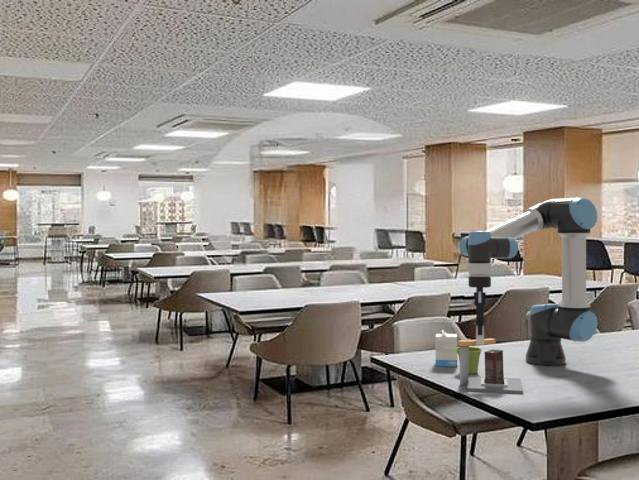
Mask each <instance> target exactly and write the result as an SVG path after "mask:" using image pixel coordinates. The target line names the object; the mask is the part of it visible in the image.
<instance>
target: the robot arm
mask: <svg viewBox="0 0 639 480" xmlns="http://www.w3.org/2000/svg"><path fill="white" fill-rule="evenodd" d="M597 222H598V211H597V208H596V206H595V204H594V203H593V201H591V200H590V199H588V198H586V197H566V198H564V197H563V198H551V199H547V200H544V201H542V202H539V203H538V204H535V205H533V206H531V207H528V208H527V209H526V210H524V212H523V213H522V214H520V215H517V216H516V217H513V218H511V219H509V220H506V221H505V222H502V223H500V224H499V225H495V226H493V227H492V228H490V229H487V230H471V231H470V232H469V233H468V236H463V237H462V238H461V240H460V241H459V246H458V247H459V248H458V249H459V251H460V253H461V254H462V255H463V256H465V257H468V258H467V259H468V260H467V261H468V265H467V266H466V269H467V270H468V275H469V276H468V277H467V278H468V287H469V288H476V289H475V290H476V291H475V292H473V298H474V306H475V307H476V309H475V310H476V311H475V313H476V314H475V315H476V316H475V317H476V318H475V323H473V324H474V325H473V326H475V340H476V345H475V346H482V345H483V346H484V345H485V344H484V339H485V326H486V325H487V324H486V322H485V320H484V319H485V317H484V315H485V313H484V311H485V310H484V308H485V305H486V297H487V296H486V294H487V293H486V292H484V288H490V287H491V288H492V277H491V276H490V275H491V274H492V263H491V262H492V259H511V258H512V259H513V258H514V257H515V256H516V255H517V254H518V252H519V249H518V248H519V244H518V242H517V240H518V238H520V237H523V236H526V235H527V234H529V233H532V232H539V231H541V230H546V229H547V230H548V229H556V230H557V234H558V235H559V237H561V301H560V302H559V303H547V304H543V303H541V304H533V305H532V306H531V307H530V309H529V310H530V312H529V313H530V314H529V336H530V337H529V339H530V340H529V345H528V347H527V351H526V353H525V362H526V363H529V364H532V365H533V364H534V365H539V366H561V365H565V364H566V359H567V358H566V354H565V352H564V348H563V345H562V340H567V341H572V342H575V343H576V342H580V343H581V342H582V343H584V342H588V341H590V339H591V340H592V338H593V336H594V335H595V333H596V331H597V329H598V318H597V316H596V314H595V313H593V312H592V311H591V305H590V303H589V302H587V237H588V236H589V235H591V229H593V228H594V227H595V226H596V223H597ZM516 239H517V240H516Z"/></svg>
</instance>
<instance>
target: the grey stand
mask: <svg viewBox="0 0 639 480" xmlns="http://www.w3.org/2000/svg"><path fill="white" fill-rule="evenodd" d="M459 347H460V362H459V385H460V386H466V392H479V393H480V392H481V393H482V392H483V393H497V394H498V393H500V394H501V393H502V394H517V395H518V394H519V395H523V394H524V389H523V383H522V379H521V378H519V377H504V384H487V383H485V376H480V375H477V376H476V375H470V373H469V347H470V346H467V347H463V346H459Z"/></svg>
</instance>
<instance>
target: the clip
mask: <svg viewBox="0 0 639 480" xmlns="http://www.w3.org/2000/svg"><path fill="white" fill-rule="evenodd" d="M496 342H497V341H496V339H495V338H484V345H495V344H496ZM460 346H463V347H467V346H469V347H473V346H477V345H476V339H461V340H457V347H460Z"/></svg>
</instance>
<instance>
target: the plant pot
mask: <svg viewBox="0 0 639 480" xmlns="http://www.w3.org/2000/svg"><path fill="white" fill-rule="evenodd" d="M456 350H457V356H458V360H459V363H460V346H458V347H457V348H456ZM482 350H483V349H482V348H479V347H475V346H469V375H470V374H471V375H474V374H477V373H478V371H479V363H480V355H481V352H482Z"/></svg>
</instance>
